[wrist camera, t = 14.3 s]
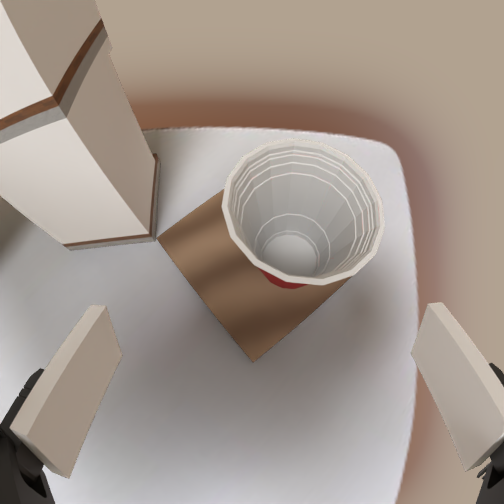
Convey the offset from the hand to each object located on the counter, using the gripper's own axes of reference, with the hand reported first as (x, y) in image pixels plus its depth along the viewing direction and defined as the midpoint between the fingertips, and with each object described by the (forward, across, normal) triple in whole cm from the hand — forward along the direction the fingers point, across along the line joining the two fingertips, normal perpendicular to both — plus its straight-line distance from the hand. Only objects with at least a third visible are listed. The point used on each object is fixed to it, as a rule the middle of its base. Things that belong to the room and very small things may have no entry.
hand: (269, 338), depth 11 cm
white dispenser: (+24, -18, -1) cm, 30 cm away
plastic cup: (+18, +3, -6) cm, 19 cm away
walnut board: (+20, 0, -5) cm, 20 cm away
